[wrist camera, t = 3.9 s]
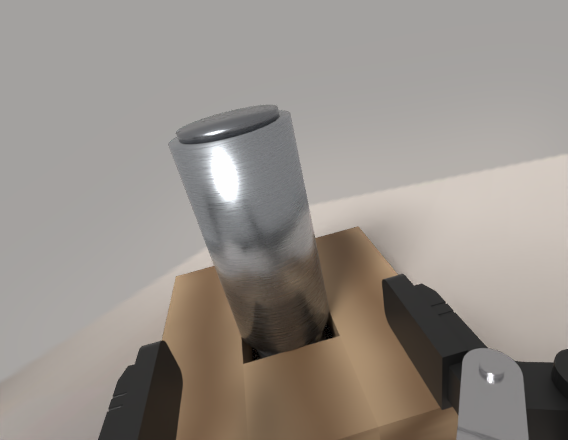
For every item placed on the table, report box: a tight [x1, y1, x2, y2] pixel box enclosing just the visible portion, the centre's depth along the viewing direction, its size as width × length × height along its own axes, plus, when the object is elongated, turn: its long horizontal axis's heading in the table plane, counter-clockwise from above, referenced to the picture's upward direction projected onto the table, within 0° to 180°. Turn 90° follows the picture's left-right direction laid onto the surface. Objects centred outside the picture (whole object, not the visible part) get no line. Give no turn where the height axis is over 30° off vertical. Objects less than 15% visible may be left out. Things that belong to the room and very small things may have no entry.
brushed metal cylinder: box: [168, 105, 329, 359], centre depth 19 cm, size 6×6×15 cm
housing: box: [162, 227, 458, 440], centre depth 22 cm, size 16×16×3 cm
